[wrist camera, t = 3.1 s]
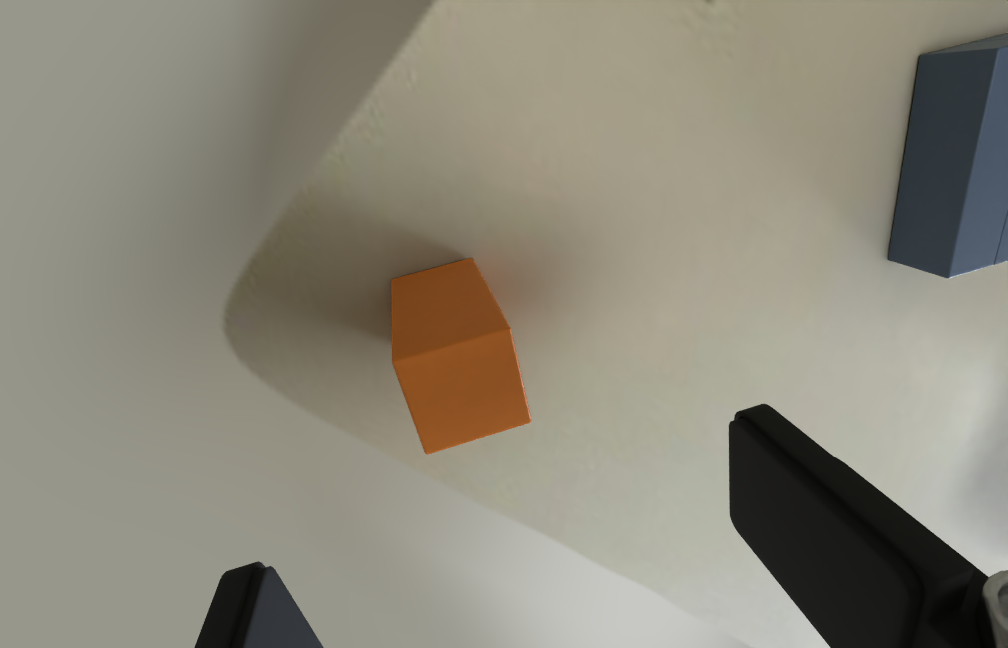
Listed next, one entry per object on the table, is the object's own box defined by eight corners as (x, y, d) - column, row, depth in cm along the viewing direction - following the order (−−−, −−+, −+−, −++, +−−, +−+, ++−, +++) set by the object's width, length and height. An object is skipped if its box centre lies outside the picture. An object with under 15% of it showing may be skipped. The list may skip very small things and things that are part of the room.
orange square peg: (414, 351, 21) (425, 455, 15) (390, 279, 19) (391, 361, 13) (490, 329, 21) (532, 422, 15) (472, 256, 20) (510, 327, 14)
